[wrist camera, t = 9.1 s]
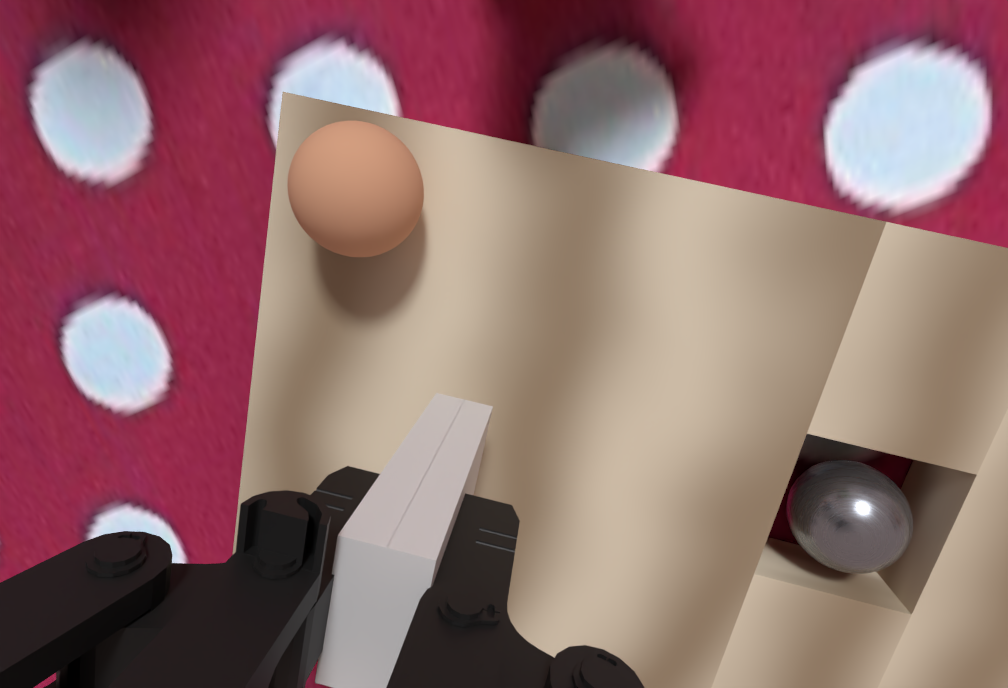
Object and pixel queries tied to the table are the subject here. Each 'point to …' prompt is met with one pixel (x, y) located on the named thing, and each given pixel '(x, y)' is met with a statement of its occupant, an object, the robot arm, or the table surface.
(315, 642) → the robot arm
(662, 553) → the wooden board with hole
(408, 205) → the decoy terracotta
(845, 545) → the steel ball
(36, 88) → the table surface
